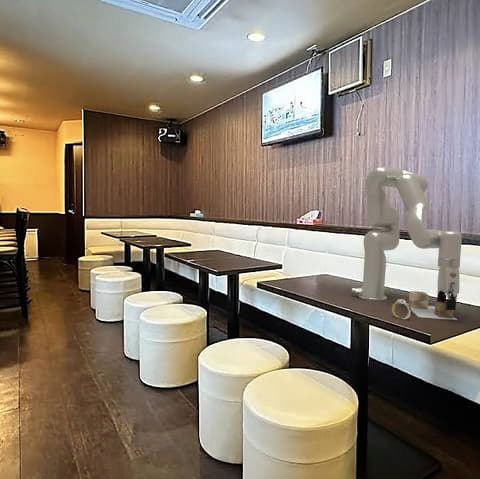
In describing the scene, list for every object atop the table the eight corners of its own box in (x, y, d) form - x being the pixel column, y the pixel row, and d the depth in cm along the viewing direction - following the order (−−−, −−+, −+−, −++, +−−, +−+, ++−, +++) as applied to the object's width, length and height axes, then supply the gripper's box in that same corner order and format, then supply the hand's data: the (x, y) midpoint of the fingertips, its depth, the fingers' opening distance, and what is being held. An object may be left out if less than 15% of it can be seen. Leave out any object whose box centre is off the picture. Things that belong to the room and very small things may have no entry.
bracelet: (389, 318, 150) (391, 297, 150) (394, 317, 152) (396, 296, 152) (406, 323, 145) (408, 301, 144) (411, 321, 147) (413, 300, 146)
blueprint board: (418, 318, 151) (418, 316, 151) (403, 305, 172) (404, 303, 172) (457, 322, 149) (457, 319, 149) (437, 307, 170) (438, 305, 170)
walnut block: (438, 317, 152) (440, 304, 151) (434, 313, 157) (435, 301, 156) (452, 318, 151) (453, 305, 151) (447, 314, 156) (448, 302, 156)
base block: (412, 308, 164) (413, 294, 163) (408, 304, 170) (409, 290, 169) (427, 309, 163) (429, 295, 163) (423, 305, 169) (424, 291, 169)
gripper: (468, 266, 143) (465, 313, 144) (450, 260, 160) (447, 302, 161) (446, 265, 144) (443, 311, 145) (430, 260, 161) (428, 301, 162)
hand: (445, 306), depth 153 cm, fingers open, 9 cm apart
